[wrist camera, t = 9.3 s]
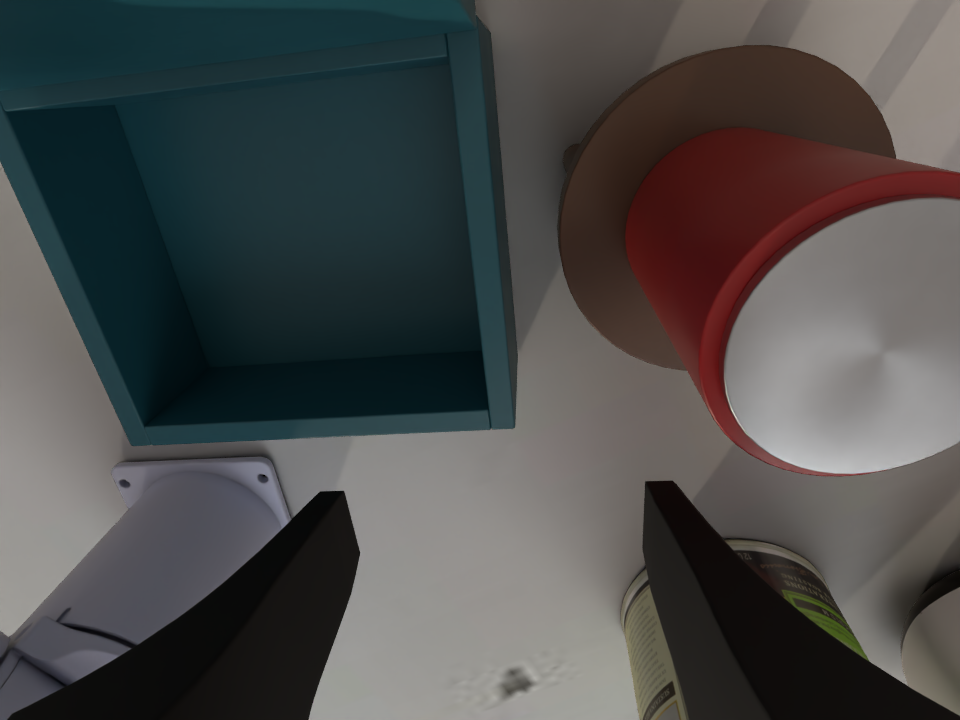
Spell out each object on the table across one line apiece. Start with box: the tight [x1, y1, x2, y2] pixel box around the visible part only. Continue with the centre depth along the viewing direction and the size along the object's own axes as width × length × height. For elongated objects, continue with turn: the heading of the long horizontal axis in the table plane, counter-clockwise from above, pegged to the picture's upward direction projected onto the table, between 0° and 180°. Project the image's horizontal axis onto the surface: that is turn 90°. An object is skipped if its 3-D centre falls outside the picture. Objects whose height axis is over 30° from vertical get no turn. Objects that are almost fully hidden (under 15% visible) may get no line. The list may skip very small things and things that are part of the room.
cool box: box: [0, 15, 518, 446], centre depth 19 cm, size 12×14×5 cm
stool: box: [557, 45, 896, 371], centre depth 18 cm, size 9×9×4 cm
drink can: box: [625, 127, 960, 476], centre depth 12 cm, size 5×5×8 cm
